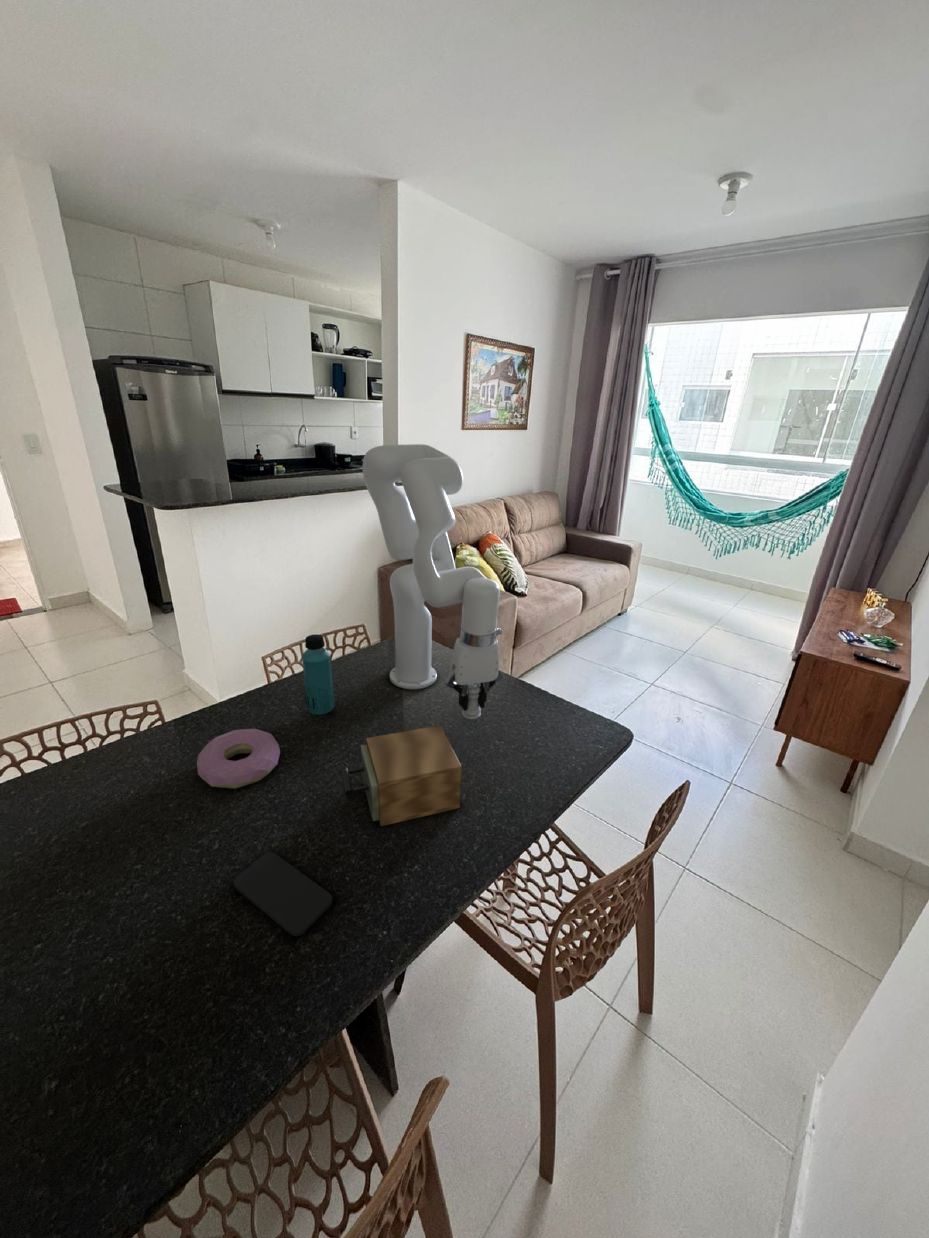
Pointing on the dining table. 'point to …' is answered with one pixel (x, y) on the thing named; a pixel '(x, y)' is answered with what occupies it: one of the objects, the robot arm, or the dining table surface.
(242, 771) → the donut
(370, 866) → the dining table surface
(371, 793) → the drawer
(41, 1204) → the dining table surface
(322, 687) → the beverage bottle
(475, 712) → the rook chess piece
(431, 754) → the cabinet
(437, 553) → the robot arm
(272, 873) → the phone
